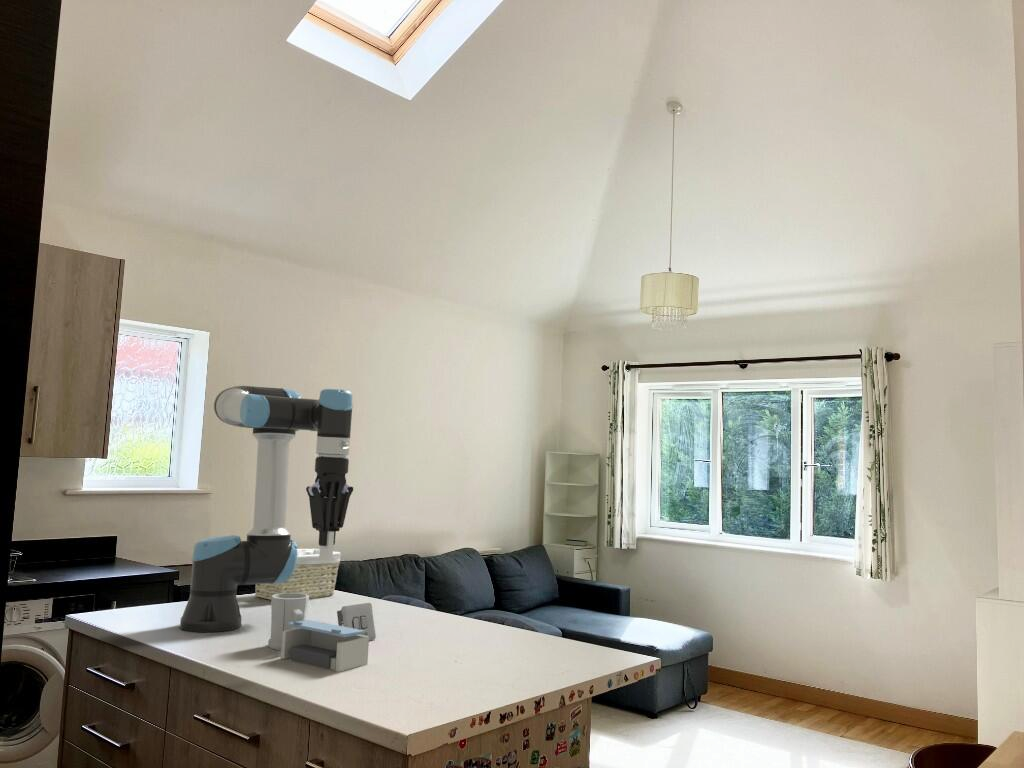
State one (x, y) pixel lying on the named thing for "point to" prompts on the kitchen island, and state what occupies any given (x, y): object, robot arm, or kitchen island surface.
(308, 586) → the storage basket
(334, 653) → the dark grey block
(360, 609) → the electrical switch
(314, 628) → the cover
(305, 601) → the cup
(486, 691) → the kitchen island surface
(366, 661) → the white u-shaped bracket
